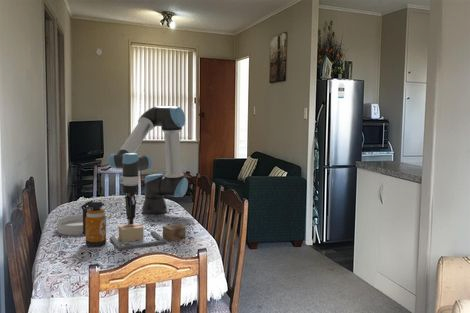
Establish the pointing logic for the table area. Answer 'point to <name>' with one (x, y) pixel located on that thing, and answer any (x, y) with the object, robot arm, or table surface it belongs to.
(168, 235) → the walnut box
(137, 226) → the carton
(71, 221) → the dish
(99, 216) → the canister
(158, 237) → the dark grey flat u-shape
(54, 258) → the table surface
